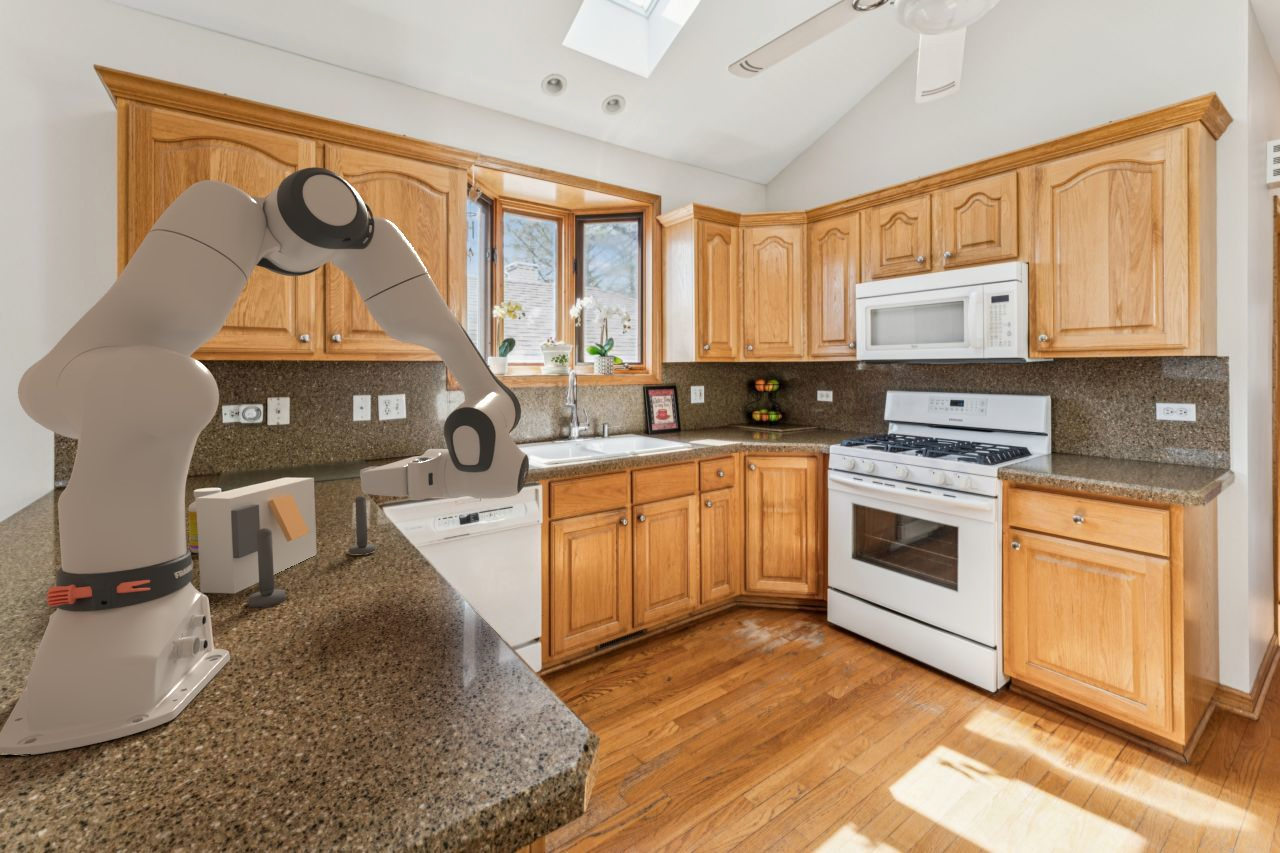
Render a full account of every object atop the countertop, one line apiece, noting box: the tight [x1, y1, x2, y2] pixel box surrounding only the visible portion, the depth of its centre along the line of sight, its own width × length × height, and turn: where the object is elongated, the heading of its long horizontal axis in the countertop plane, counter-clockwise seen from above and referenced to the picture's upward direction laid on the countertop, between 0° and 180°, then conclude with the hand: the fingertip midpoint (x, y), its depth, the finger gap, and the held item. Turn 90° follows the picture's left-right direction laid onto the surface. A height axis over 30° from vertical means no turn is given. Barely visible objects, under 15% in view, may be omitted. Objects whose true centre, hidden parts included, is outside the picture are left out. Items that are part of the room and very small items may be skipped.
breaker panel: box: [196, 477, 317, 594], centre depth 108 cm, size 6×22×16 cm, turn 176°
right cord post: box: [348, 494, 376, 554], centre depth 122 cm, size 5×5×12 cm
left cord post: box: [247, 528, 287, 609], centre depth 94 cm, size 5×5×12 cm
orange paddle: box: [268, 495, 310, 542], centre depth 108 cm, size 1×5×8 cm, turn 174°
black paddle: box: [231, 505, 260, 558], centre depth 100 cm, size 1×5×8 cm, turn 176°
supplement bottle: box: [187, 487, 222, 554], centre depth 123 cm, size 7×7×13 cm
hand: (364, 472), depth 106 cm, fingers closed
